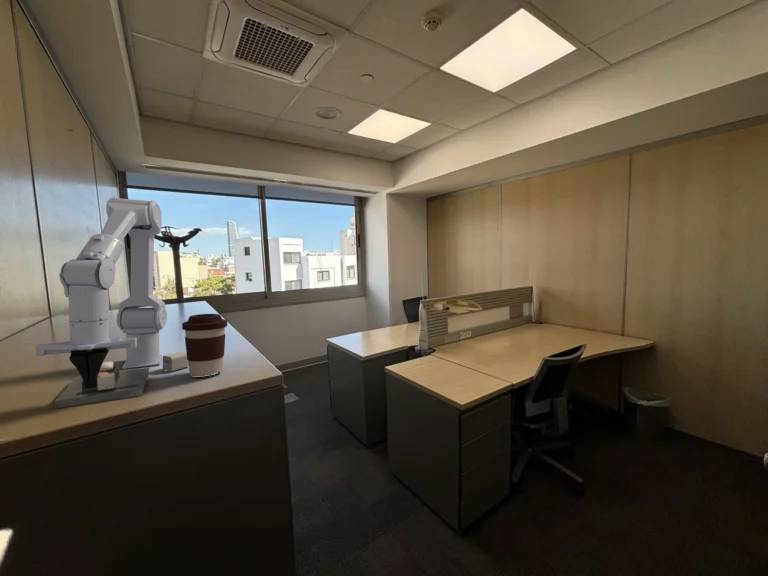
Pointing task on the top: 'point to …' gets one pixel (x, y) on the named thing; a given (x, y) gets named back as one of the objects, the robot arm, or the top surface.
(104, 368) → the off-white button
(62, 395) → the control panel
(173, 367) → the usb wall charger
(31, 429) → the top surface
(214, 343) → the coffee cup
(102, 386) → the light grey block
